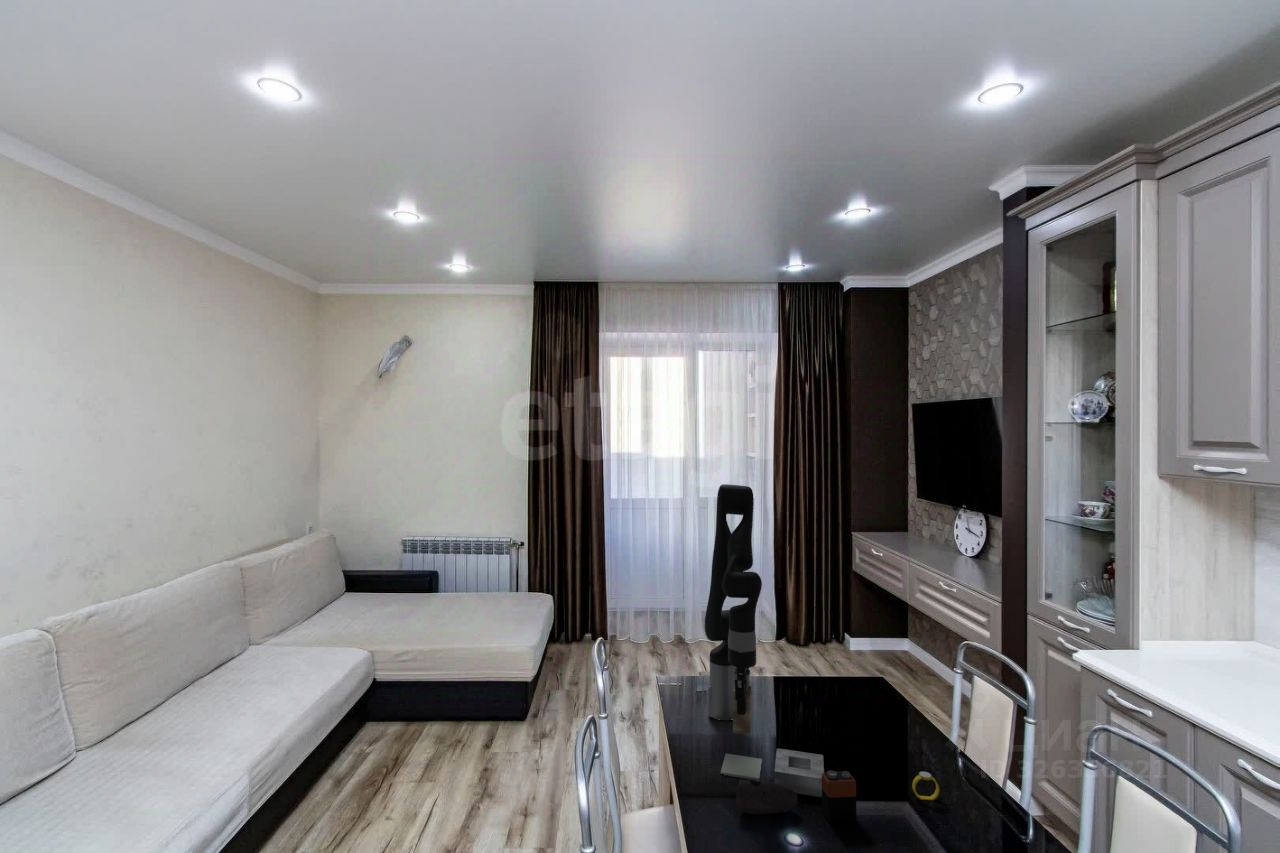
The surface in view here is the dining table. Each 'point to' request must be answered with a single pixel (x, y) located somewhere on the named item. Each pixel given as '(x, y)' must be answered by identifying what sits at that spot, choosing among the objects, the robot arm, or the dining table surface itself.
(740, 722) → the birch peg
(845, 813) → the battery
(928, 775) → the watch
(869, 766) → the dining table surface
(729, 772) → the sage mat
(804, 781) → the post block
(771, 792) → the perforated stone tool
